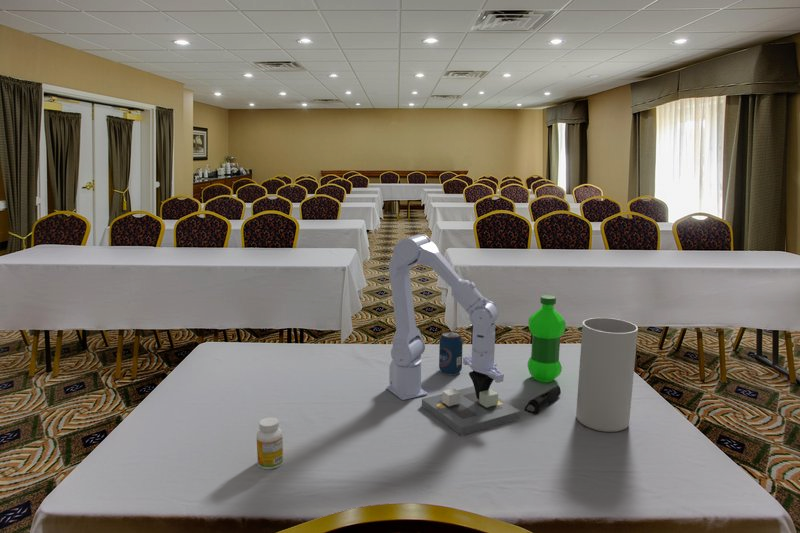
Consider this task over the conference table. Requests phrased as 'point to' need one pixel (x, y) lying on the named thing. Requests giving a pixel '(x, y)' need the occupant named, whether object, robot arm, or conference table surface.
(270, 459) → the supplement bottle
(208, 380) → the conference table surface
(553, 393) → the electric trimmer
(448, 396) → the light grey block
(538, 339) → the plastic bottle
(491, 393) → the tab sage
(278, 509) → the conference table surface
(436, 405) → the switch panel
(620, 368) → the cylinder vase
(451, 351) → the soda can
